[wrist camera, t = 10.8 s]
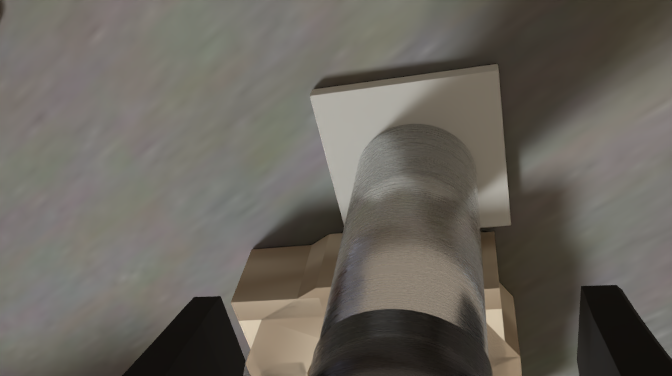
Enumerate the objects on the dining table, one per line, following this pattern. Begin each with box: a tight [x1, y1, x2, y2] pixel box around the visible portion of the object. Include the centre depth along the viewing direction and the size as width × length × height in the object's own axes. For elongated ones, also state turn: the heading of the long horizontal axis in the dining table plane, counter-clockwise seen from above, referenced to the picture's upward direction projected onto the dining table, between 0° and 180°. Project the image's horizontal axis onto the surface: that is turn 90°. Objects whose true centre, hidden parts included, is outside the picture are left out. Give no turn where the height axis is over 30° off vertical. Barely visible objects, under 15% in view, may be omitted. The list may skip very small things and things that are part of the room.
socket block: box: [231, 231, 522, 376], centre depth 21 cm, size 9×9×2 cm
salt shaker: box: [309, 124, 492, 376], centre depth 14 cm, size 4×4×9 cm
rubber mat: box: [310, 64, 511, 228], centre depth 18 cm, size 5×5×1 cm
